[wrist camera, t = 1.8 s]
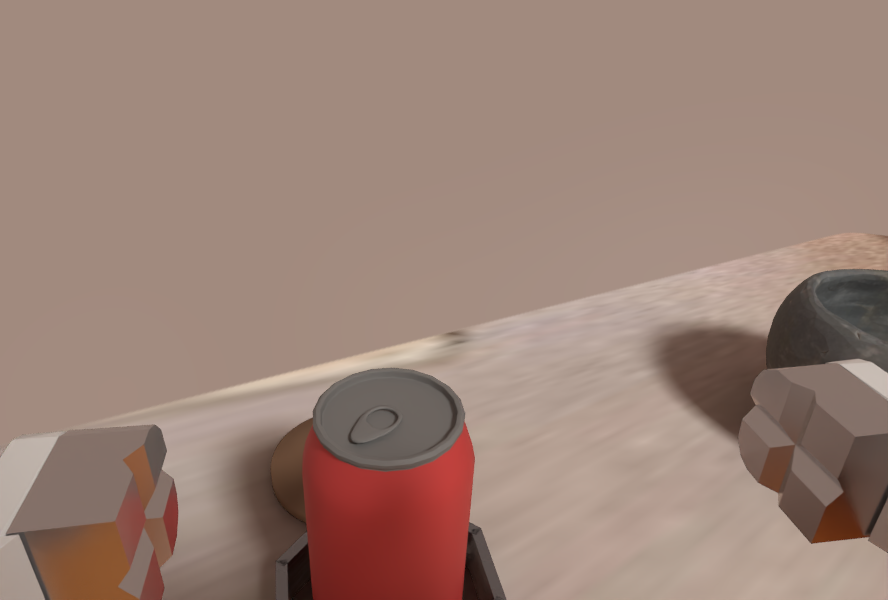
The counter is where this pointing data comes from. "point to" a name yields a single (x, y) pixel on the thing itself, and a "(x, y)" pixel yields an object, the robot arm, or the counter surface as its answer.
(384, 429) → the beer can
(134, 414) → the counter surface
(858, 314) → the bowl
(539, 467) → the counter surface
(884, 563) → the counter surface
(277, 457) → the walnut coaster
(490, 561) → the can collar
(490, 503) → the counter surface
